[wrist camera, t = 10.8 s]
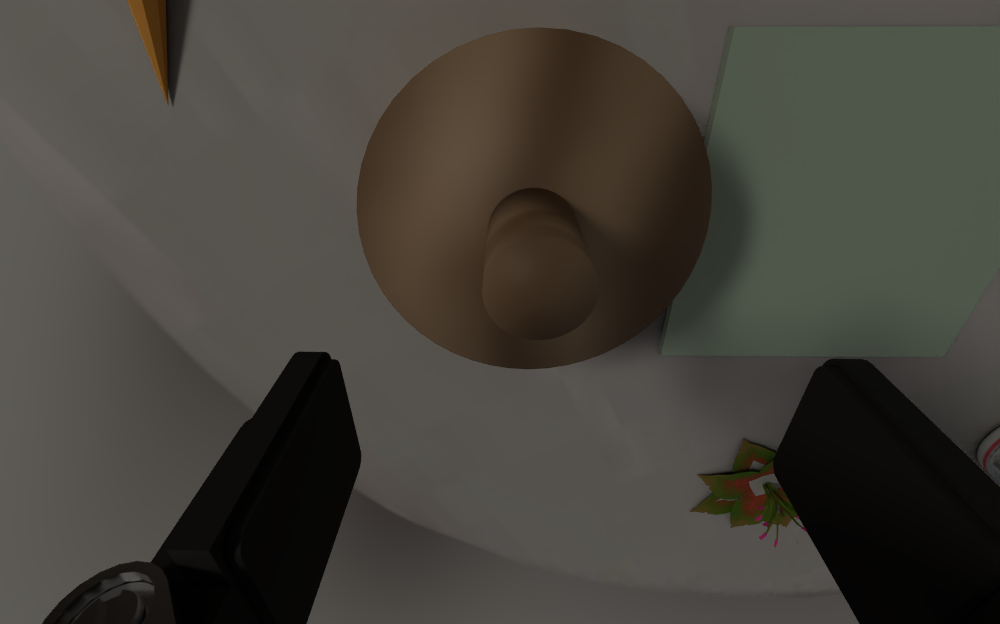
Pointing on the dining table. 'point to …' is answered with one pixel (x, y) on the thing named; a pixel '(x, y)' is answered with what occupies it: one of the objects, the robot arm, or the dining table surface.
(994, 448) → the pill bottle
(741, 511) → the lily flower
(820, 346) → the mat
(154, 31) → the carrot
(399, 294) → the lid
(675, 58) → the dining table surface
